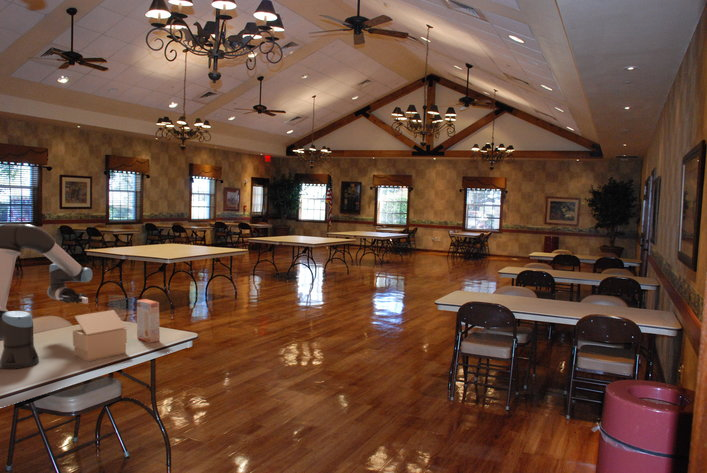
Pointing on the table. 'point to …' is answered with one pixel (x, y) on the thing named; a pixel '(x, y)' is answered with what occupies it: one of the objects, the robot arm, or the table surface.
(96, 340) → the carton
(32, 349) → the robot arm
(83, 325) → the flap
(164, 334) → the table surface
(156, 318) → the cracker box
